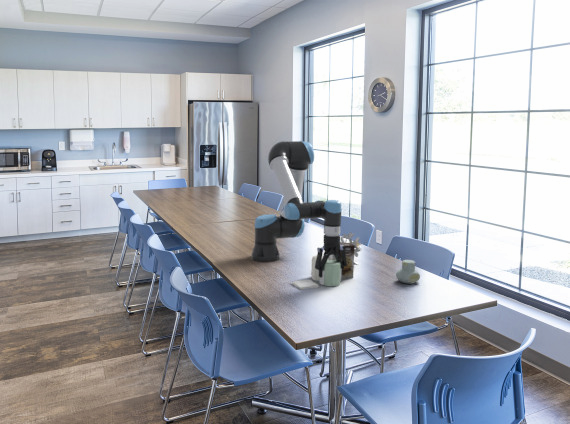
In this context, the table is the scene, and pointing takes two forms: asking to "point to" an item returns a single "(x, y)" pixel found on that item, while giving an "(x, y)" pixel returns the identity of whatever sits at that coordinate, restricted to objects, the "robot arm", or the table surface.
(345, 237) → the flower vase
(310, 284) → the coaster
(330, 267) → the sage green dome
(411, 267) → the air freshener
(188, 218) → the table surface
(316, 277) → the cream cup
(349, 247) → the coffee box
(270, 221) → the robot arm
